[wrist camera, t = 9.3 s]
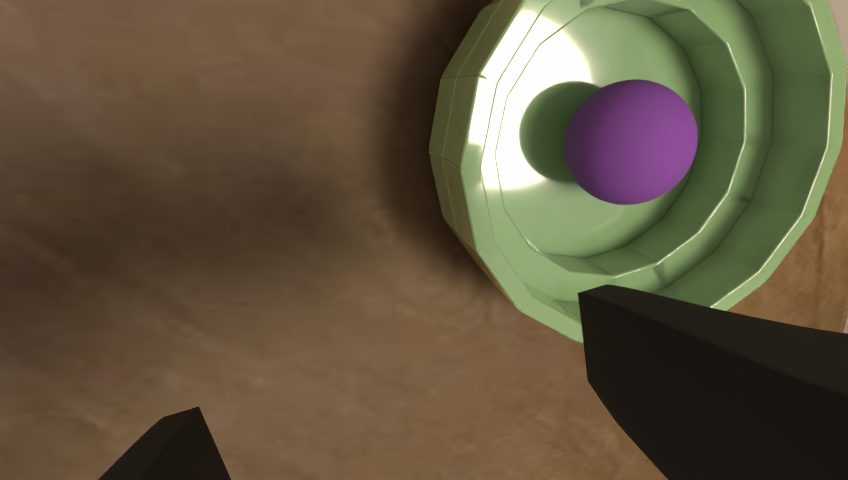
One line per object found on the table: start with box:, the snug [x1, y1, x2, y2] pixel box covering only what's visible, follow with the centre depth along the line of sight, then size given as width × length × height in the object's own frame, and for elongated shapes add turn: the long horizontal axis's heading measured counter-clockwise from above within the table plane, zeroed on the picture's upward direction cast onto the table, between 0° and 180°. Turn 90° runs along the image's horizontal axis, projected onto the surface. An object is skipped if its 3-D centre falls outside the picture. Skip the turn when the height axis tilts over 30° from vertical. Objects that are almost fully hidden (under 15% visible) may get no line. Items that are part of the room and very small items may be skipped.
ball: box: [564, 79, 698, 205], centre depth 16 cm, size 4×4×4 cm
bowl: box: [429, 0, 847, 343], centre depth 16 cm, size 12×12×4 cm
